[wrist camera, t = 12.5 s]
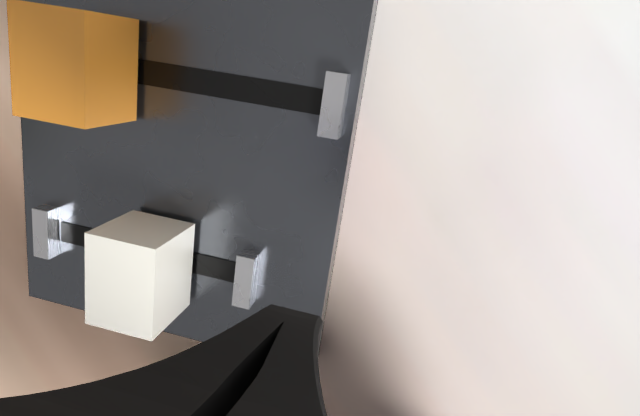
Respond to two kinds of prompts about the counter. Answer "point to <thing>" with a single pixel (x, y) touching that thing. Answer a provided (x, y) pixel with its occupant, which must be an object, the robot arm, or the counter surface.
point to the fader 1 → (72, 65)
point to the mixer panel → (213, 153)
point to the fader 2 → (138, 273)
